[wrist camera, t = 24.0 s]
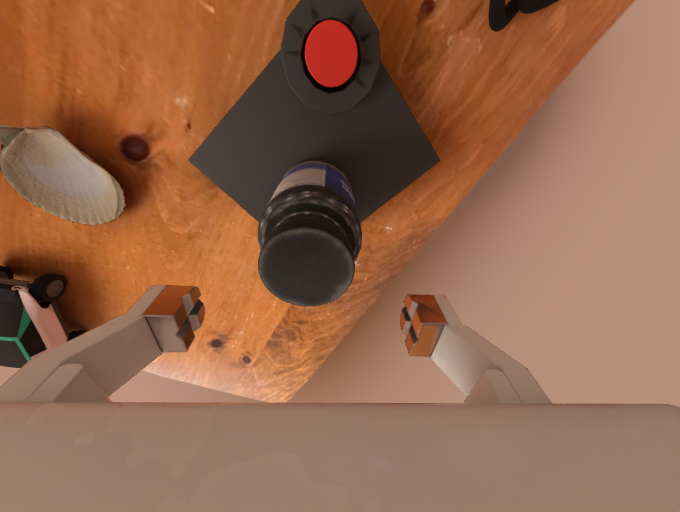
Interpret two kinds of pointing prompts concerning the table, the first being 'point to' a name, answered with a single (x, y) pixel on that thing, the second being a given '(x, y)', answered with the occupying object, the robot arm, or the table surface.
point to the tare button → (331, 53)
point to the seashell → (58, 176)
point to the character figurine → (512, 10)
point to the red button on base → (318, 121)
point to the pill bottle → (309, 235)
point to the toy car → (30, 318)
